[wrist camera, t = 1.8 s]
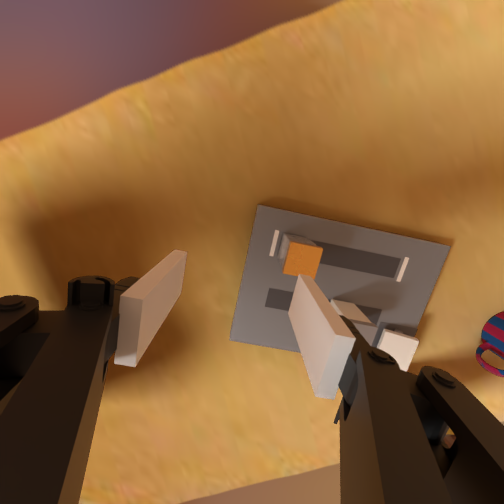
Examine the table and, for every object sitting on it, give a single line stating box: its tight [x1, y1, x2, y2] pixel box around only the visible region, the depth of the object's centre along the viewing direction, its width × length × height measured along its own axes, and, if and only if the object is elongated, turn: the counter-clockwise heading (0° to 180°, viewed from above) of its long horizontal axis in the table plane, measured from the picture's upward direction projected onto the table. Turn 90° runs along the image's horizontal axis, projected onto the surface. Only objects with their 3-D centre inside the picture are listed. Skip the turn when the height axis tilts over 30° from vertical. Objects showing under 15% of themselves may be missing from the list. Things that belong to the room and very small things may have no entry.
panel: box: [230, 204, 451, 353], centre depth 33 cm, size 24×18×2 cm
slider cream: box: [330, 299, 378, 346], centre depth 29 cm, size 3×3×6 cm
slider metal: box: [277, 233, 323, 279], centre depth 27 cm, size 3×3×6 cm
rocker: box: [377, 329, 419, 372], centre depth 33 cm, size 4×5×2 cm
